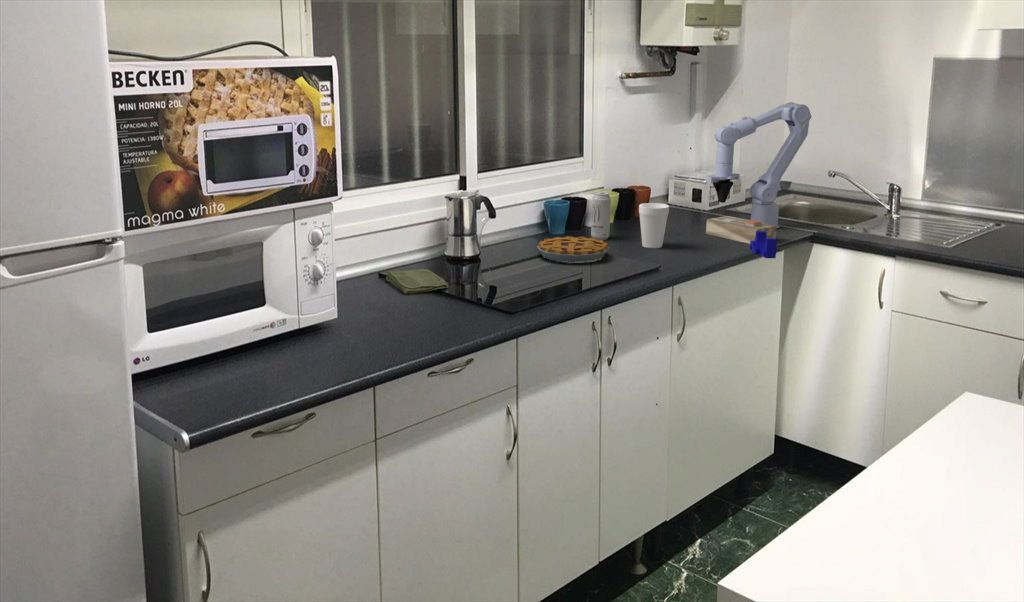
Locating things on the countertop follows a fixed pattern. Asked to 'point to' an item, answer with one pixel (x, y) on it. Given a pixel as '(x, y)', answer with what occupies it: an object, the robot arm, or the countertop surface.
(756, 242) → the blue angular block
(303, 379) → the countertop surface
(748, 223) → the orange block
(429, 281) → the washcloth
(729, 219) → the matte grey cube
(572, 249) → the pie
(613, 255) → the countertop surface
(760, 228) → the button block
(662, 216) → the foam cup
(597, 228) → the energy drink can
